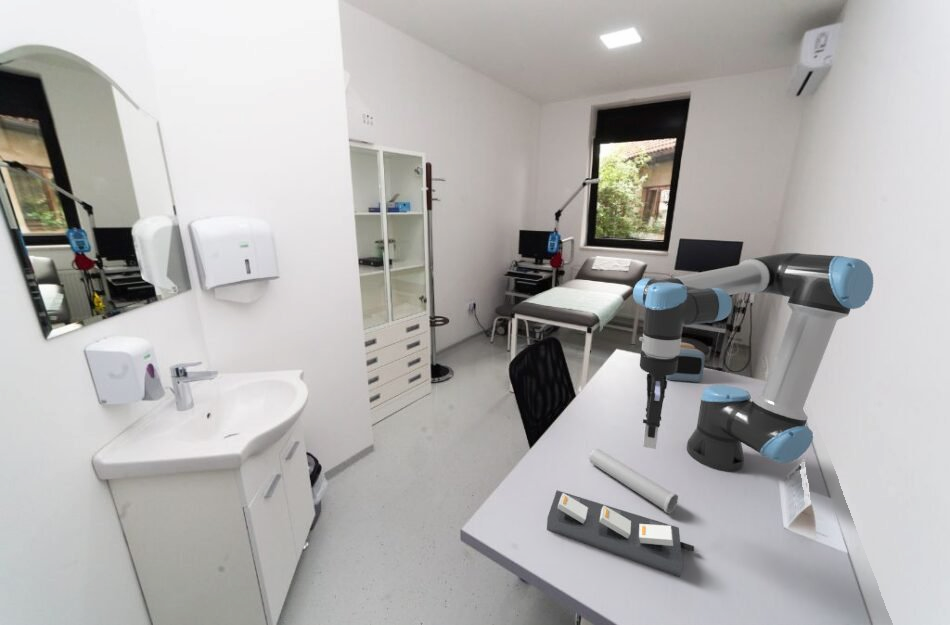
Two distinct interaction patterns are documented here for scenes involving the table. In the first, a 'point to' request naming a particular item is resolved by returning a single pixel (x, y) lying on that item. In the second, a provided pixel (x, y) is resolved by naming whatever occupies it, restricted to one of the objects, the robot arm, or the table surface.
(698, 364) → the alarm clock
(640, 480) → the tube
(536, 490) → the table surface
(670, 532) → the block
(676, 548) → the power strip
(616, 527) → the block
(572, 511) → the block
